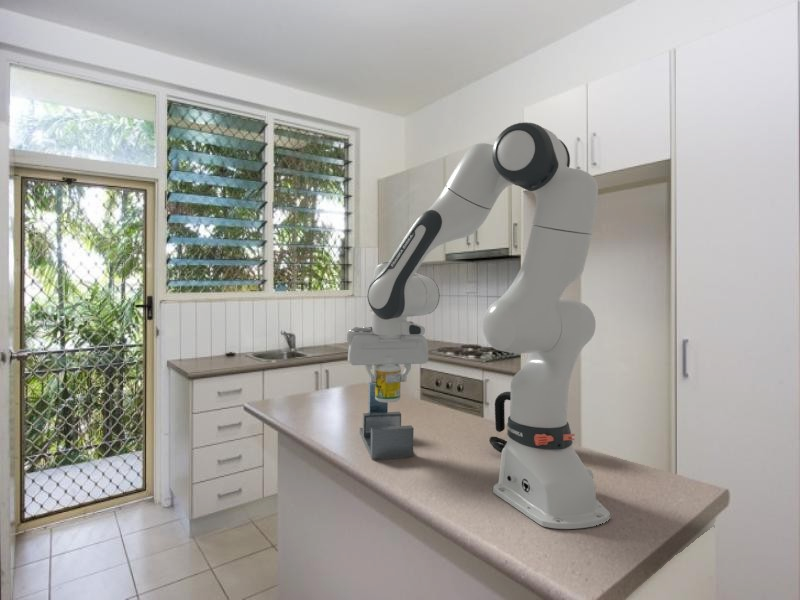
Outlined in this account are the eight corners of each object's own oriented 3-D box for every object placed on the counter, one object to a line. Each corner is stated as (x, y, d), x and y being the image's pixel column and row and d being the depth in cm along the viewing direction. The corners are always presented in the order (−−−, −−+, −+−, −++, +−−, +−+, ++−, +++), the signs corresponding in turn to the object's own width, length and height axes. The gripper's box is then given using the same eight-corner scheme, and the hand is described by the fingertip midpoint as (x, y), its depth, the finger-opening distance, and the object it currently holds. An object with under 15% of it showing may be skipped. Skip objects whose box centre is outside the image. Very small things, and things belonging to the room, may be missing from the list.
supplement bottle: (403, 402, 111) (404, 356, 110) (378, 403, 109) (379, 357, 109) (396, 396, 117) (396, 352, 116) (372, 397, 115) (373, 353, 115)
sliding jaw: (401, 434, 120) (402, 388, 119) (364, 436, 117) (364, 389, 117) (394, 424, 128) (394, 381, 128) (359, 426, 126) (359, 382, 125)
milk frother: (547, 443, 119) (548, 387, 119) (549, 465, 104) (550, 401, 104) (492, 437, 123) (493, 383, 123) (487, 457, 108) (488, 396, 108)
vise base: (413, 456, 108) (413, 428, 108) (372, 459, 106) (372, 430, 105) (394, 431, 127) (394, 406, 127) (359, 433, 125) (359, 408, 125)
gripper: (349, 328, 107) (348, 386, 107) (431, 328, 112) (429, 383, 112) (345, 326, 113) (345, 380, 113) (423, 325, 118) (422, 378, 118)
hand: (387, 381), depth 113 cm, fingers closed on supplement bottle, 6 cm apart
